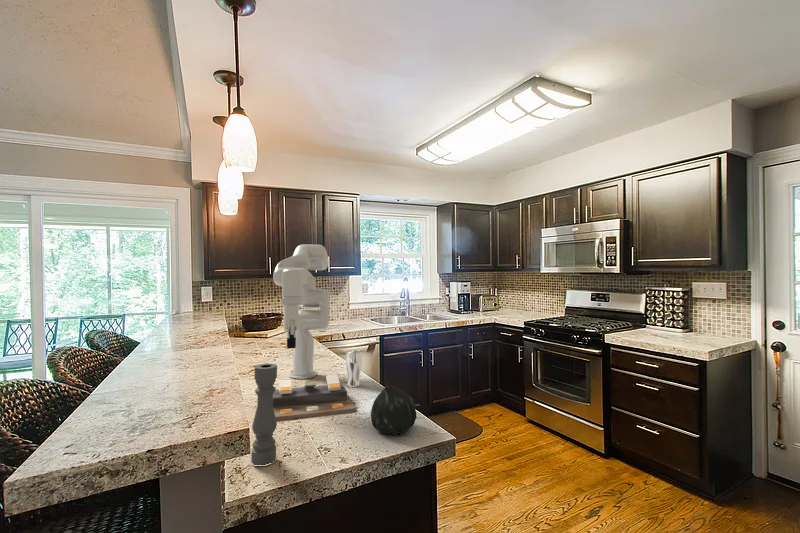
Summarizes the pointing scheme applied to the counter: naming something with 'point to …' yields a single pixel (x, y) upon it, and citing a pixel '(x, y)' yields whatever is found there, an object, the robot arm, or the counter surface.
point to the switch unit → (311, 402)
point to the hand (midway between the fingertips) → (291, 347)
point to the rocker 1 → (285, 386)
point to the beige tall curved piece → (353, 367)
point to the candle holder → (264, 415)
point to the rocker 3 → (333, 382)
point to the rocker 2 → (309, 384)
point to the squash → (393, 411)
